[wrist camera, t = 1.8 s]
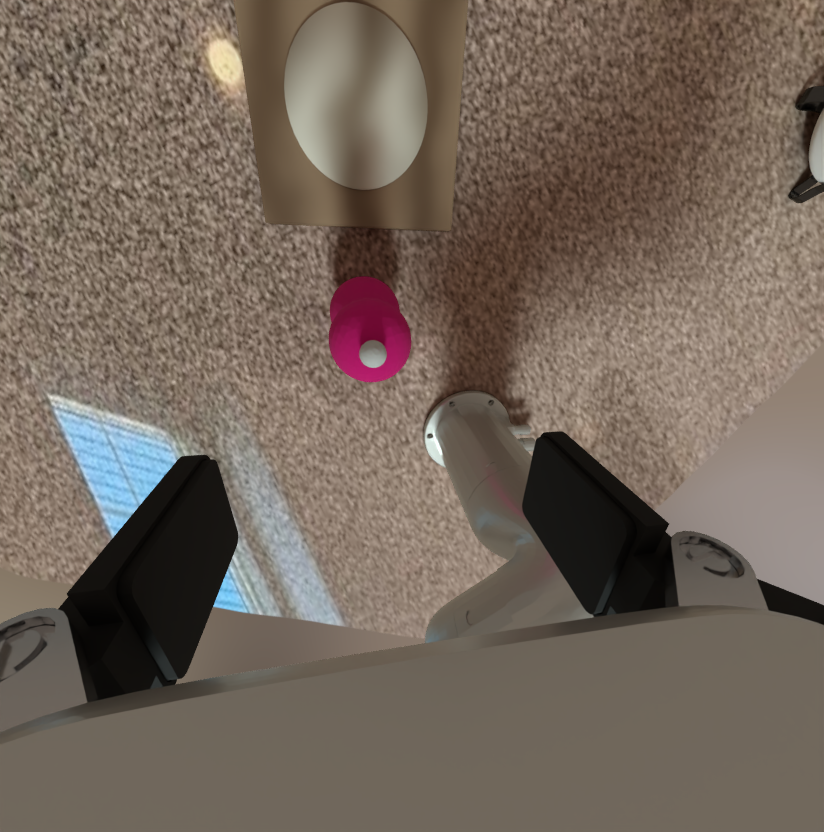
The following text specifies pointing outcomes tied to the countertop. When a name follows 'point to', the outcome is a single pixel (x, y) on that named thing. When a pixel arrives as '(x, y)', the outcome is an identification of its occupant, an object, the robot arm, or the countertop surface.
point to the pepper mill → (368, 330)
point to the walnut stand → (355, 109)
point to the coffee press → (813, 146)
